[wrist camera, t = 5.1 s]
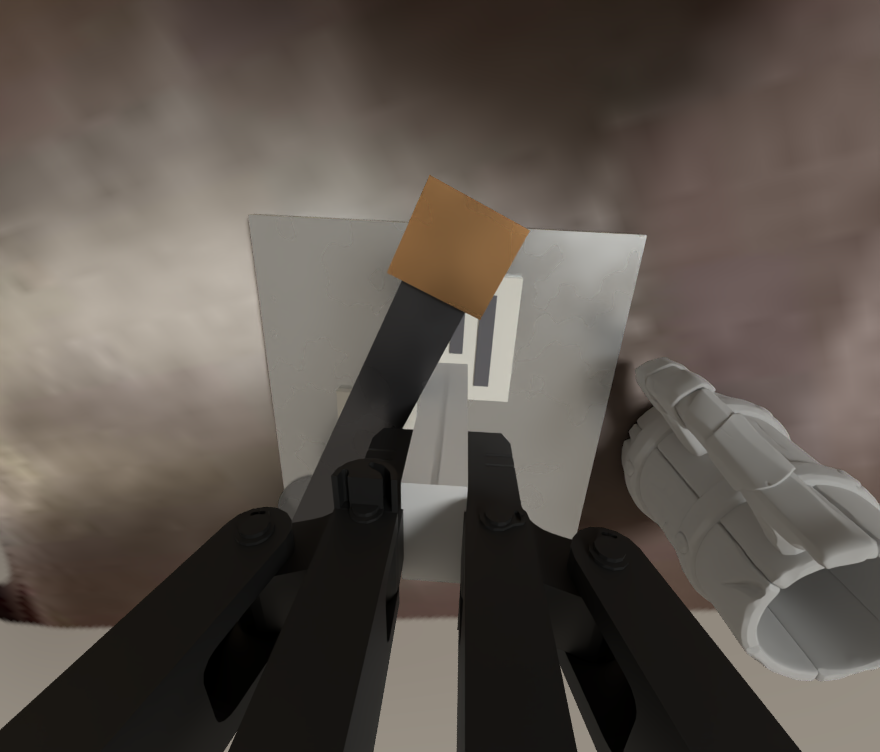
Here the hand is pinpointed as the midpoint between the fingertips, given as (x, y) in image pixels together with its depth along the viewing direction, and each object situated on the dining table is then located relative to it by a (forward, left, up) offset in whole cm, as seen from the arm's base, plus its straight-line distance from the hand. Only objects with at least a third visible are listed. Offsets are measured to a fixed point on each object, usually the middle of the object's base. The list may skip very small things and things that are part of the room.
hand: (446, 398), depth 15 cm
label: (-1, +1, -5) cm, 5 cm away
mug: (+4, +12, -6) cm, 14 cm away
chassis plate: (+3, -1, -6) cm, 7 cm away
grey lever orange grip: (+3, -4, +1) cm, 5 cm away
